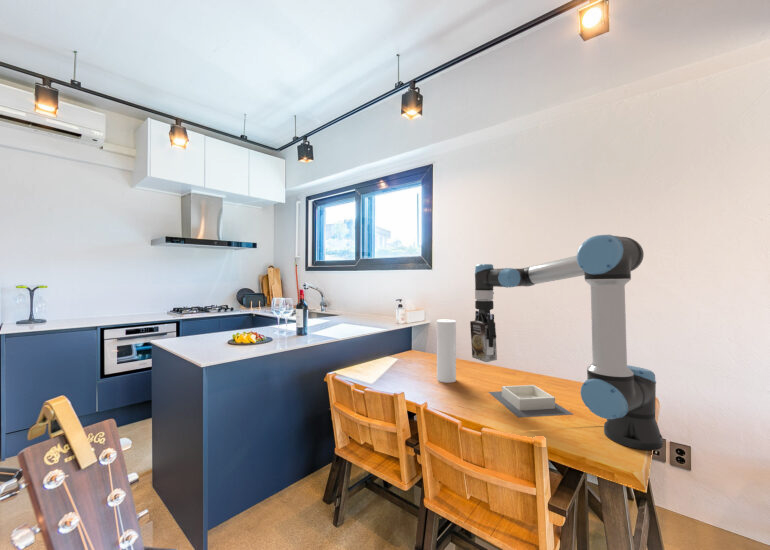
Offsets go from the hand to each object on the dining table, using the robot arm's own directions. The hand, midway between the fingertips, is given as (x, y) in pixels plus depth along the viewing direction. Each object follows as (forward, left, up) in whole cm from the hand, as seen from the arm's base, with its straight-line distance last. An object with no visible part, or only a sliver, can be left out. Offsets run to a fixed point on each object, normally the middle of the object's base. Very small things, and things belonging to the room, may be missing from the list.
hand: (484, 351), depth 142 cm
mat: (-9, -14, -20) cm, 26 cm away
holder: (-9, -14, -19) cm, 26 cm away
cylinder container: (+24, +10, -20) cm, 33 cm away
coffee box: (0, 0, -3) cm, 3 cm away
